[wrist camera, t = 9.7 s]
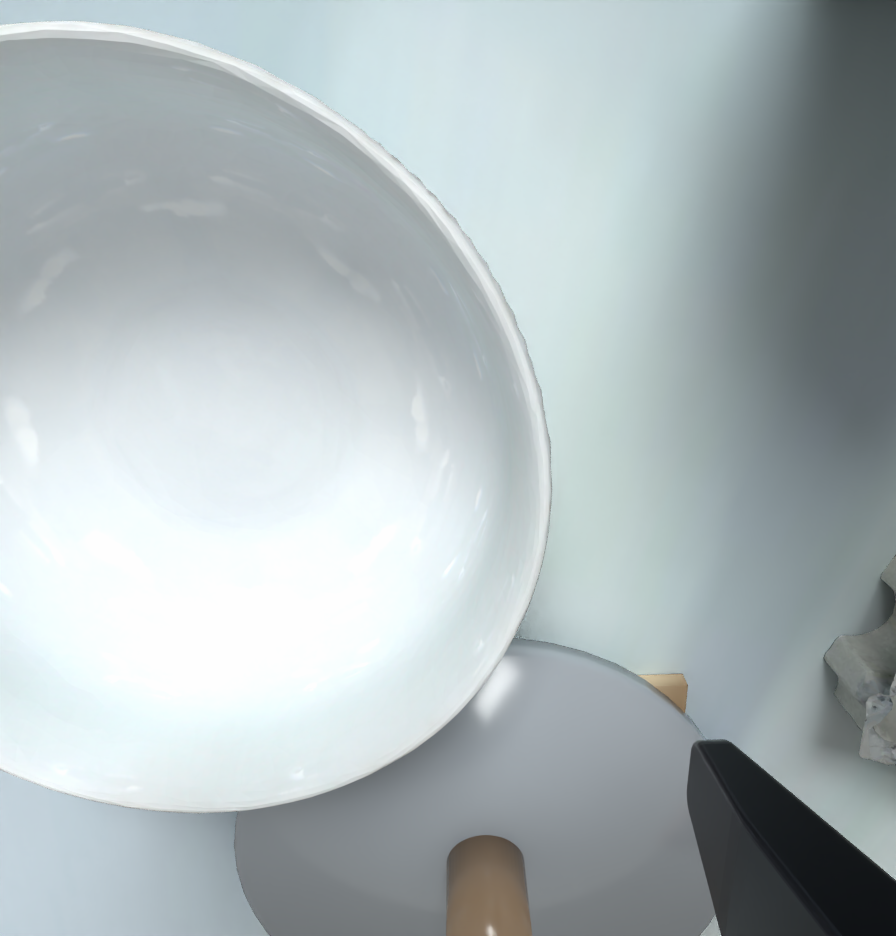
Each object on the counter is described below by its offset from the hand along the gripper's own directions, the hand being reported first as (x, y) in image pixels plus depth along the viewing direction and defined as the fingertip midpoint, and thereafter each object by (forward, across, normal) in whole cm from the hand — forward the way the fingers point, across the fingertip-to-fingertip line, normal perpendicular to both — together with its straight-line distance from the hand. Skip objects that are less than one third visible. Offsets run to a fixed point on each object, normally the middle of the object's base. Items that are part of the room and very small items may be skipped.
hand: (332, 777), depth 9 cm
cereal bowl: (+13, +5, -1) cm, 14 cm away
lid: (+12, -2, +16) cm, 20 cm away
